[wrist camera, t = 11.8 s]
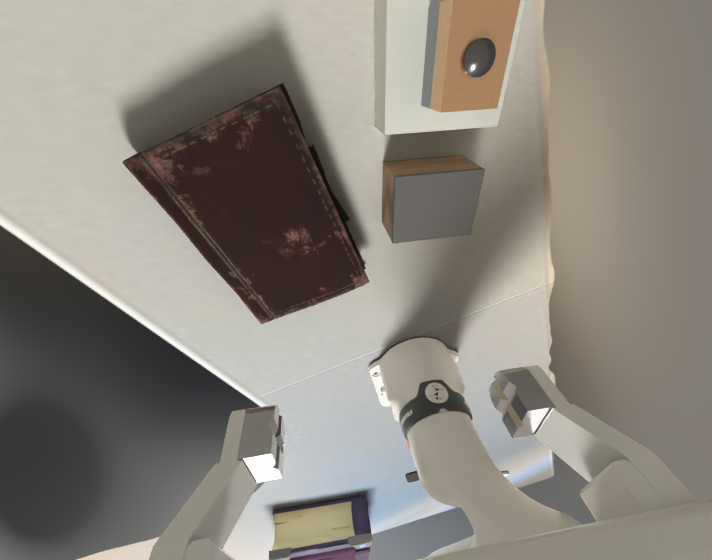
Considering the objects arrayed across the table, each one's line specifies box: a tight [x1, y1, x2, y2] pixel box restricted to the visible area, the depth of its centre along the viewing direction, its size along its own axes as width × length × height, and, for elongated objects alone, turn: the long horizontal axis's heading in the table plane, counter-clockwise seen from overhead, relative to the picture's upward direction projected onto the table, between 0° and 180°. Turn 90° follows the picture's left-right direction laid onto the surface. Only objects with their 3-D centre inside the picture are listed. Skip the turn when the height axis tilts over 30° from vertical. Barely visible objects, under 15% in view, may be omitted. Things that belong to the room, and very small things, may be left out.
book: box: [269, 495, 372, 560], centre depth 108 cm, size 33×45×14 cm
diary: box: [123, 83, 369, 324], centre depth 37 cm, size 19×25×5 cm
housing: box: [421, 0, 520, 113], centre depth 24 cm, size 5×7×5 cm
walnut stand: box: [382, 155, 485, 243], centre depth 36 cm, size 8×10×6 cm
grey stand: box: [375, 0, 526, 135], centre depth 28 cm, size 12×12×5 cm
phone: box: [406, 471, 419, 482], centre depth 99 cm, size 7×1×15 cm
